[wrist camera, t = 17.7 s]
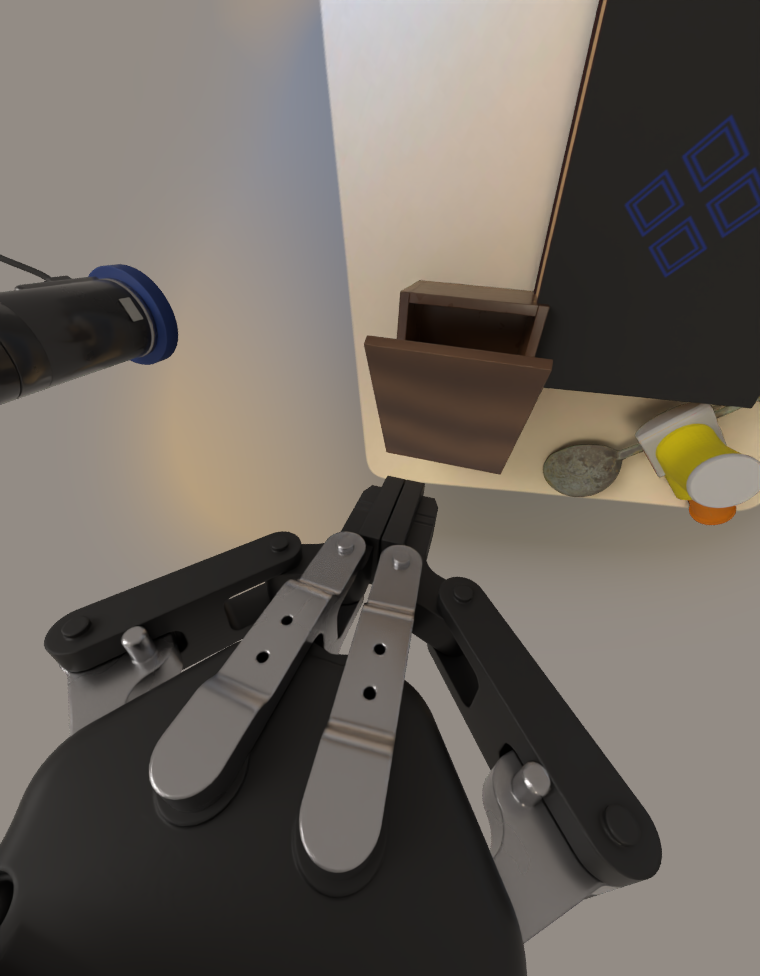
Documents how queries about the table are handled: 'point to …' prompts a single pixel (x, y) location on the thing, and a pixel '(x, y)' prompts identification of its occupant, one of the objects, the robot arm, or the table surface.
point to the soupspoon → (592, 465)
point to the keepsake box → (472, 317)
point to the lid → (453, 400)
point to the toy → (699, 462)
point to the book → (660, 209)
